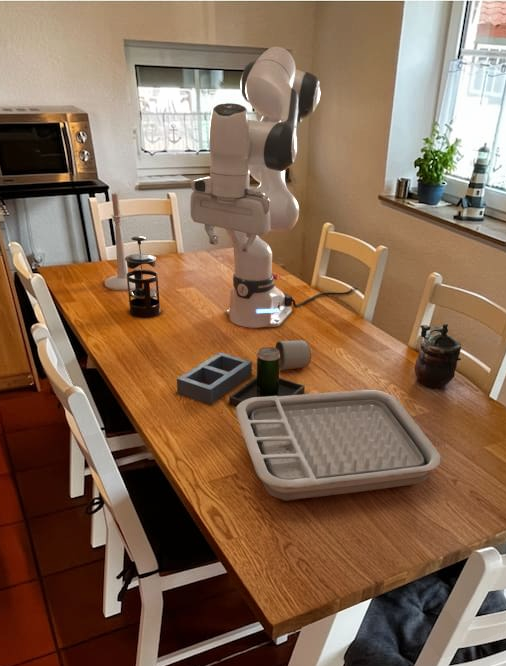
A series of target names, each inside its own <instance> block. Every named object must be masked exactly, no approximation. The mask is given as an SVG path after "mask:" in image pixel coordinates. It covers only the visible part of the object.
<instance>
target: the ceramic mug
mask: <svg viewBox="0 0 506 666" xmlns="http://www.w3.org/2000/svg"><path fill="white" fill-rule="evenodd" d="M274 348H276V349H278V350H279V354H280V371H286V370H293V369H294V370H295V369H301V368H306V367H308V366H309V365H310V363H311V362H312V348H311V346H310V344H309V343H308V342H307V341H306V340H302V339H301V340H299V339H298V340H278V341H277V342H276V343H275V347H274Z"/></svg>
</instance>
